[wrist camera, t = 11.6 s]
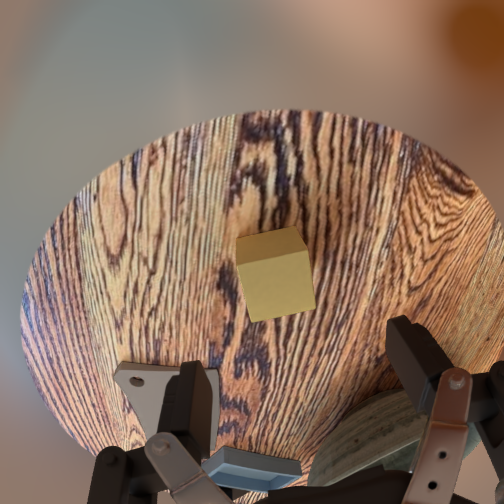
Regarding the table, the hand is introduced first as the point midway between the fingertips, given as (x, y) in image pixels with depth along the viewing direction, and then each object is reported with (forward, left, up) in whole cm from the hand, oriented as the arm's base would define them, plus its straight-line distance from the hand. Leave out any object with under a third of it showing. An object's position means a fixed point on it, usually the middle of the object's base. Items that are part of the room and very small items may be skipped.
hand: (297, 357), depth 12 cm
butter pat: (0, 0, -10) cm, 10 cm away
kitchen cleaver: (+2, -24, -10) cm, 26 cm away
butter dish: (+14, -27, -10) cm, 32 cm away
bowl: (+22, -11, -10) cm, 26 cm away
